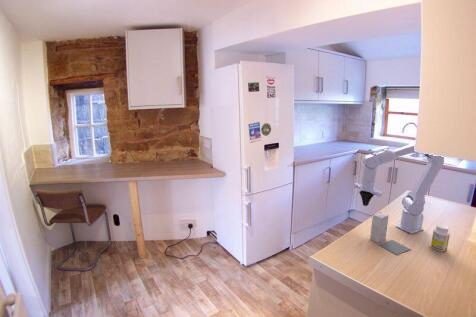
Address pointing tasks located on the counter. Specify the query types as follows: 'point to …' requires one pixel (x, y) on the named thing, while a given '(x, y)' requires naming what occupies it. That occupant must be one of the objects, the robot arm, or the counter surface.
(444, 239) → the supplement bottle
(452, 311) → the counter surface
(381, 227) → the skincare box
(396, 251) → the mat
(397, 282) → the counter surface
